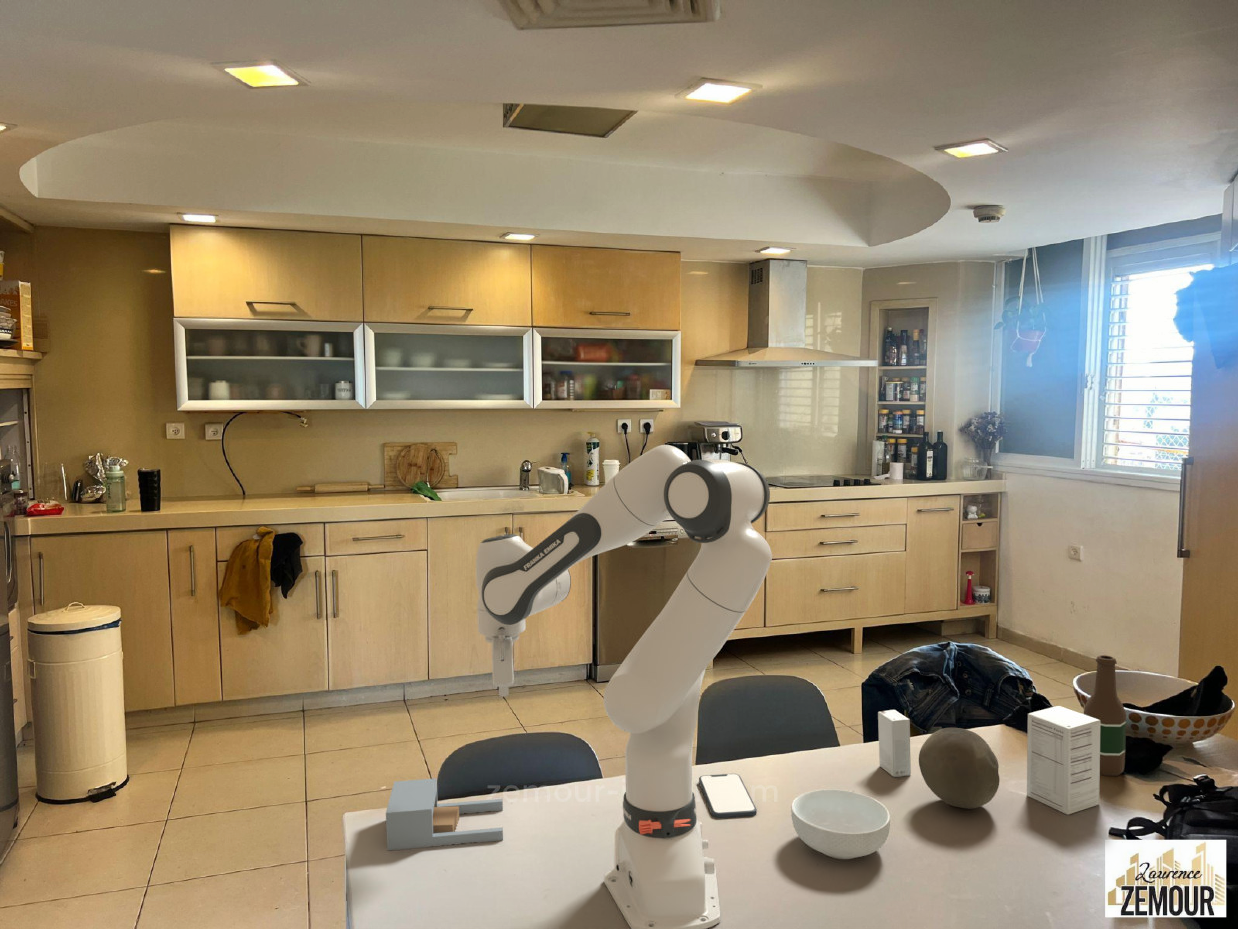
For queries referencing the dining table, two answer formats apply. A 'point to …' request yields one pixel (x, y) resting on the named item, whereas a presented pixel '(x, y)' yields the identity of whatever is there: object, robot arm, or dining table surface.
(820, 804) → the cereal bowl
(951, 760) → the cantaloupe
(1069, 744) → the supplement box
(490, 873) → the dining table surface
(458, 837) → the grey u-shaped frame
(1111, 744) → the beer bottle
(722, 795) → the smartphone
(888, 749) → the skincare box
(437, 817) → the tan cardboard slab
